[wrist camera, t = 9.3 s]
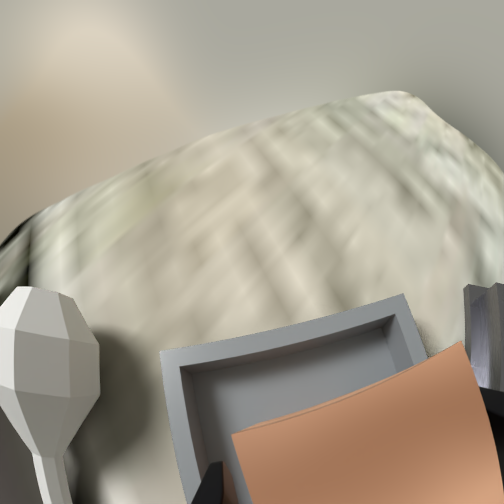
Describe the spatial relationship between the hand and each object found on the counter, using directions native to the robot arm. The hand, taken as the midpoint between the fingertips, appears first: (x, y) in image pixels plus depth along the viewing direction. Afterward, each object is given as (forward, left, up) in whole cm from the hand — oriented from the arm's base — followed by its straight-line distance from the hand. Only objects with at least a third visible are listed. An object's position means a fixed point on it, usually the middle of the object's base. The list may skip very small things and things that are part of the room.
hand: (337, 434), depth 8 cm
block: (-1, 0, -8) cm, 8 cm away
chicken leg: (+1, +16, -9) cm, 19 cm away
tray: (-1, 0, -9) cm, 9 cm away
